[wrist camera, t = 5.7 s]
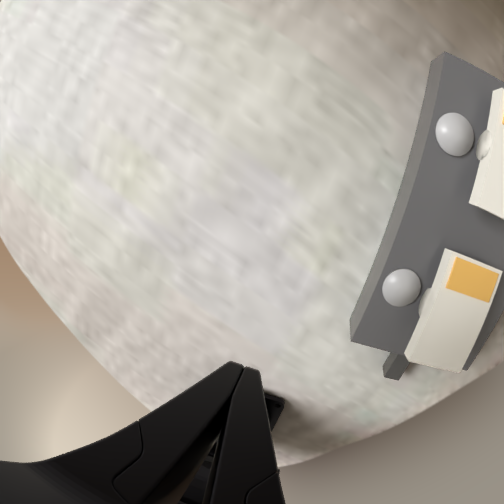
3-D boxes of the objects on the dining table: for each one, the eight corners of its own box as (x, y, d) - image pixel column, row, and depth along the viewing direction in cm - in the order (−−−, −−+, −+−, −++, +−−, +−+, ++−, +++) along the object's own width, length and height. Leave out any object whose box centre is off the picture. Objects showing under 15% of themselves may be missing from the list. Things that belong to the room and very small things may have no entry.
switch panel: (437, 379, 20) (444, 403, 17) (333, 353, 21) (332, 378, 19) (543, 124, 12) (566, 125, 10) (431, 61, 13) (445, 50, 11)
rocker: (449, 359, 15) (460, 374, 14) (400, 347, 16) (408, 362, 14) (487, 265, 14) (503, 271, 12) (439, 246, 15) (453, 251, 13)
